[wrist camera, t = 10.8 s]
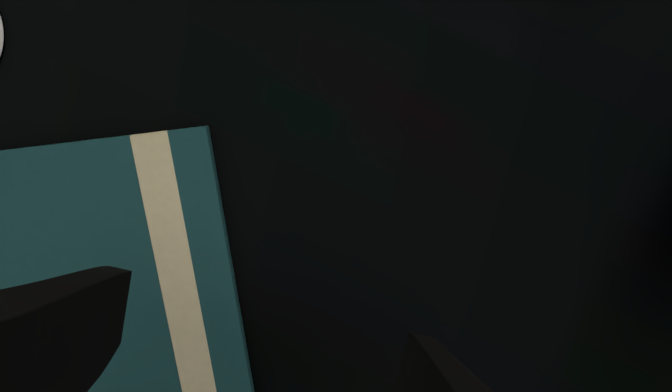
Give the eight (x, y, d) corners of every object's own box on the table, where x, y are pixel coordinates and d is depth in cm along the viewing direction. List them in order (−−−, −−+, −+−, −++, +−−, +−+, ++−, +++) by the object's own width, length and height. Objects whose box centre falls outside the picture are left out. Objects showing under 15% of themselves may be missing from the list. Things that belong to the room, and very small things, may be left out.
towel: (256, 400, 23) (254, 407, 23) (-151, 442, 24) (-162, 450, 24) (209, 125, 21) (205, 126, 20) (-249, 180, 21) (-264, 182, 21)
